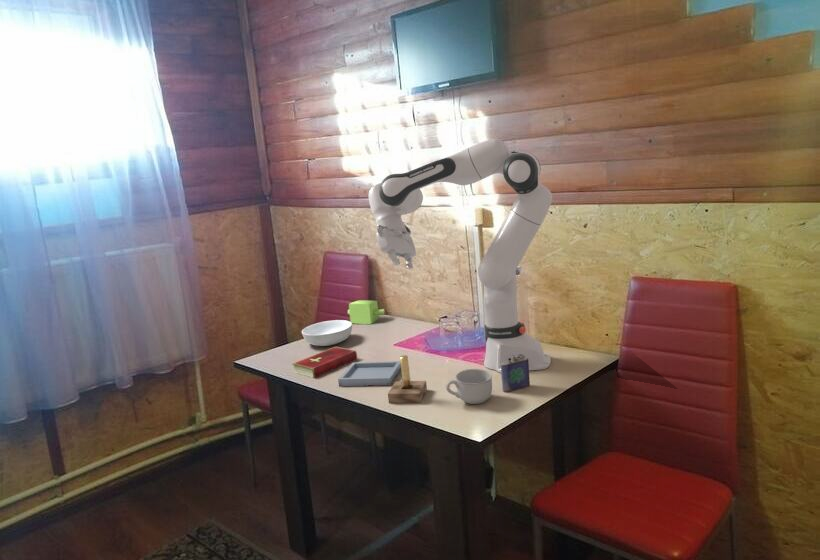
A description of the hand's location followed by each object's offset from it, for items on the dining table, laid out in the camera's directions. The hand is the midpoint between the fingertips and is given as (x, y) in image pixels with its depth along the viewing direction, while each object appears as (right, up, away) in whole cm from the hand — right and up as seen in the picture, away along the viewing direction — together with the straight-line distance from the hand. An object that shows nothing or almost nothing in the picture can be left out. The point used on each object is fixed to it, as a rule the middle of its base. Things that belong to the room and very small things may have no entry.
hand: (403, 266), depth 205 cm
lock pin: (+2, -41, -13) cm, 43 cm away
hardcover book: (-29, -37, +24) cm, 53 cm away
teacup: (+20, -41, -21) cm, 50 cm away
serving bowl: (-32, -31, +53) cm, 69 cm away
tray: (-11, -38, +8) cm, 40 cm away
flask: (+35, -38, -15) cm, 54 cm away
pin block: (+2, -41, -13) cm, 43 cm away
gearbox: (-17, -24, +79) cm, 85 cm away
